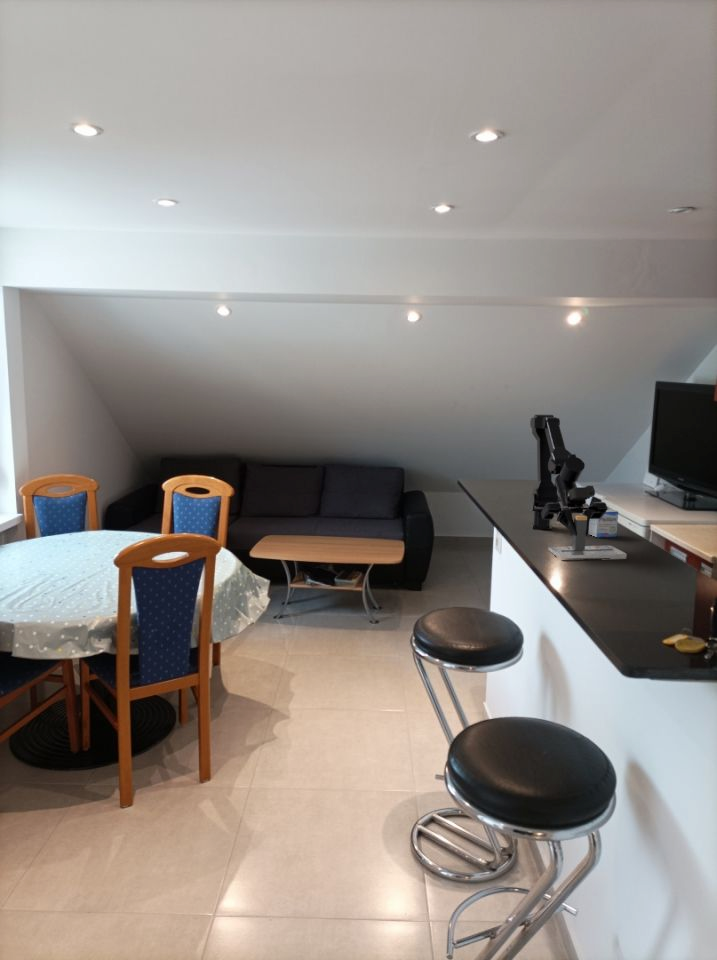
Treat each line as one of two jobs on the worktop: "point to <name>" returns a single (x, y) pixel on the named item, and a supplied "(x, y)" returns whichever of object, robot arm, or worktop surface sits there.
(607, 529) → the medicine box
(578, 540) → the fader lever
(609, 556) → the fader console
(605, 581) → the worktop surface
